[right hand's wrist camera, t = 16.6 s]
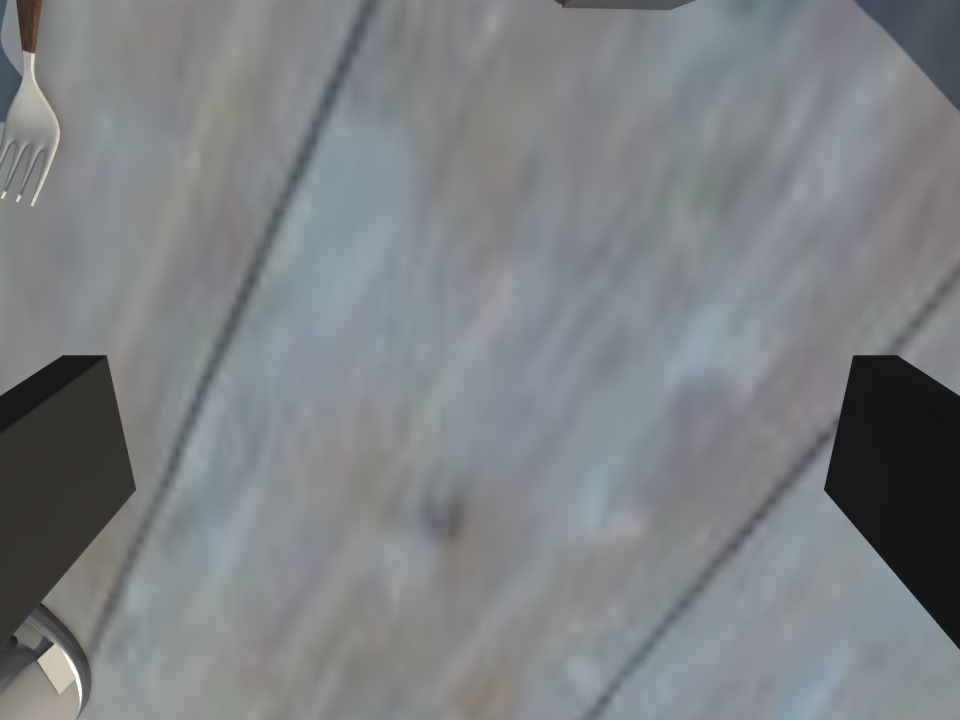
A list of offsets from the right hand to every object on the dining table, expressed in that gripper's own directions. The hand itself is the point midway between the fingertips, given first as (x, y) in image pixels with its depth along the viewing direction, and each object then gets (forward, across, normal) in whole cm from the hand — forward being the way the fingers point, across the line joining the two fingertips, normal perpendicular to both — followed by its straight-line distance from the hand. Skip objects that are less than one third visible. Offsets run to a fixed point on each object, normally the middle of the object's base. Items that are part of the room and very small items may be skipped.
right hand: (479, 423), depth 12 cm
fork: (+25, -21, +8) cm, 33 cm away
